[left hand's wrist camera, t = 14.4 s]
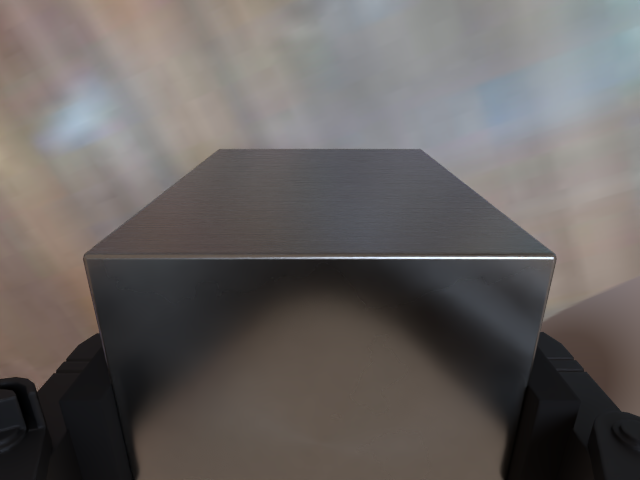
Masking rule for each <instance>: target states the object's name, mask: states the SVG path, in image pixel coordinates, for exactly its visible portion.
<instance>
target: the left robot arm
mask: <svg viewBox="0 0 640 480" xmlns="http://www.w3.org/2000/svg"><path fill="white" fill-rule="evenodd" d="M0 480H133V479H132V475H131V470H130V466H129V461H128V457H127V452H126V448H125V443H124V439H123V434H122V430H121V426H120V421H119V417H118V412H117V408H116V403H115V399H114V394H113V390H112V385H111V381H110V377H109V372H108V368H107V363H106V359H105V354H104V350H103V345H102V341H101V336H100V333H97V334H95V335H94V336H92V337H90V338H89V339H87V340H86V341H84V342H83V343H81V344H80V345H78V346H77V347H76V349H75V350H74V351H73V352H72V353H71V354H70V355H69V357H68V358H67V359H66V362H63V363H62V365H61V366H60V367H59V368H58V369H57V370H56V373H54V374H53V375H52V376H51V377H50V378H49V379H48V380H47V382H46V383H45V384H44V385H43V386H42V387H41V388H40V390H39V391H38V392H37V391H36V387H35V384H34V383H33V382H31V381H30V380H29V379H25V378H18V377H13V378H5V379H0ZM507 480H640V417H639V416H636V415H633V414H630V413H627V412H621V411H620V409H619V408H618V407H617V406H616V405H615V404H614V403H613V402H612V400H611V399H610V398H609V397H608V396H607V395H606V394H605V392H604V391H603V390H602V389H601V388H600V387H599V386H598V385H597V383H596V382H595V381H594V380H593V379H592V378H591V377H590V375H589V374H588V373H587V372H584V369H583V368H582V366H581V365H580V364H579V363H578V362H577V361H576V360H574V358H573V356H572V355H571V354H570V353H569V352H568V351H567V349H566V348H565V347H564V346H563V345H562V344H561V343H560V342H558V341H556V340H555V339H553V338H552V337H550V336H549V335H547V334H545V333H544V332H540V335H539V339H538V344H537V348H536V353H535V357H534V362H533V366H532V371H531V375H530V379H529V384H528V388H527V393H526V397H525V402H524V406H523V411H522V415H521V420H520V424H519V429H518V433H517V438H516V442H515V446H514V451H513V455H512V460H511V464H510V469H509V473H508V478H507Z"/></svg>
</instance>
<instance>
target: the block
mask: <svg viewBox="0 0 640 480" xmlns="http://www.w3.org/2000/svg"><path fill="white" fill-rule="evenodd" d="M83 261H84V265H85V270H86V274H87V279H88V283H89V287H90V292H91V296H92V301H93V305H94V310H95V314H96V319H97V323H98V328H99V332H100V336H101V341H102V345H103V350H104V354H105V359H106V363H107V368H108V372H109V377H110V381H111V385H112V390H113V394H114V399H115V403H116V408H117V412H118V417H119V421H120V426H121V430H122V434H123V439H124V443H125V448H126V452H127V457H128V461H129V466H130V470H131V475H132V479H133V480H507V478H508V473H509V469H510V464H511V460H512V455H513V451H514V446H515V442H516V438H517V433H518V429H519V424H520V420H521V415H522V411H523V406H524V402H525V397H526V393H527V388H528V384H529V379H530V375H531V371H532V366H533V362H534V357H535V353H536V348H537V344H538V339H539V335H540V330H541V326H542V321H543V317H544V313H545V308H546V304H547V299H548V295H549V290H550V286H551V281H552V277H553V272H554V268H555V263H556V255H555V254H554V253H553V252H552V251H551V250H549V249H548V248H547V247H545V246H544V245H543V244H542V243H540V242H539V241H538V240H537V239H535V238H534V237H533V236H531V235H530V234H529V233H528V232H526V231H525V230H524V229H522V228H521V227H520V226H519V225H517V224H516V223H515V222H513V221H512V220H511V219H510V218H508V217H507V216H506V215H504V214H503V213H502V212H501V211H499V210H498V209H497V208H495V207H494V206H493V205H492V204H490V203H489V202H488V201H487V200H485V199H484V198H483V197H481V196H480V195H479V194H478V193H476V192H475V191H474V190H472V189H471V188H470V187H469V186H467V185H466V184H465V183H463V182H462V181H461V180H460V179H458V178H457V177H456V176H454V175H453V174H452V173H451V172H449V171H448V170H447V169H446V168H444V167H443V166H442V165H440V164H439V163H438V162H437V161H435V160H434V159H433V158H431V157H430V156H429V155H428V154H426V153H425V152H424V151H422V150H421V149H219V150H217V151H216V152H215V153H214V154H212V155H211V156H210V157H208V158H207V159H206V160H205V161H203V162H202V163H201V164H199V165H198V166H197V167H196V168H194V169H193V170H192V171H190V172H189V173H188V174H187V175H185V176H184V177H183V178H181V179H180V180H179V181H178V182H176V183H175V184H174V185H172V186H171V187H170V188H169V189H167V190H166V191H165V192H163V193H162V194H161V195H160V196H158V197H157V198H156V199H154V200H153V201H152V202H151V203H149V204H148V205H147V206H146V207H144V208H143V209H142V210H140V211H139V212H138V213H137V214H135V215H134V216H133V217H131V218H130V219H129V220H128V221H126V222H125V223H124V224H122V225H121V226H120V227H119V228H117V229H116V230H115V231H113V232H112V233H111V234H110V235H108V236H107V237H106V238H104V239H103V240H102V241H101V242H99V243H98V244H97V245H95V246H94V247H93V248H92V249H90V250H89V251H88V252H86V253H85V254H84V257H83Z"/></svg>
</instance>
